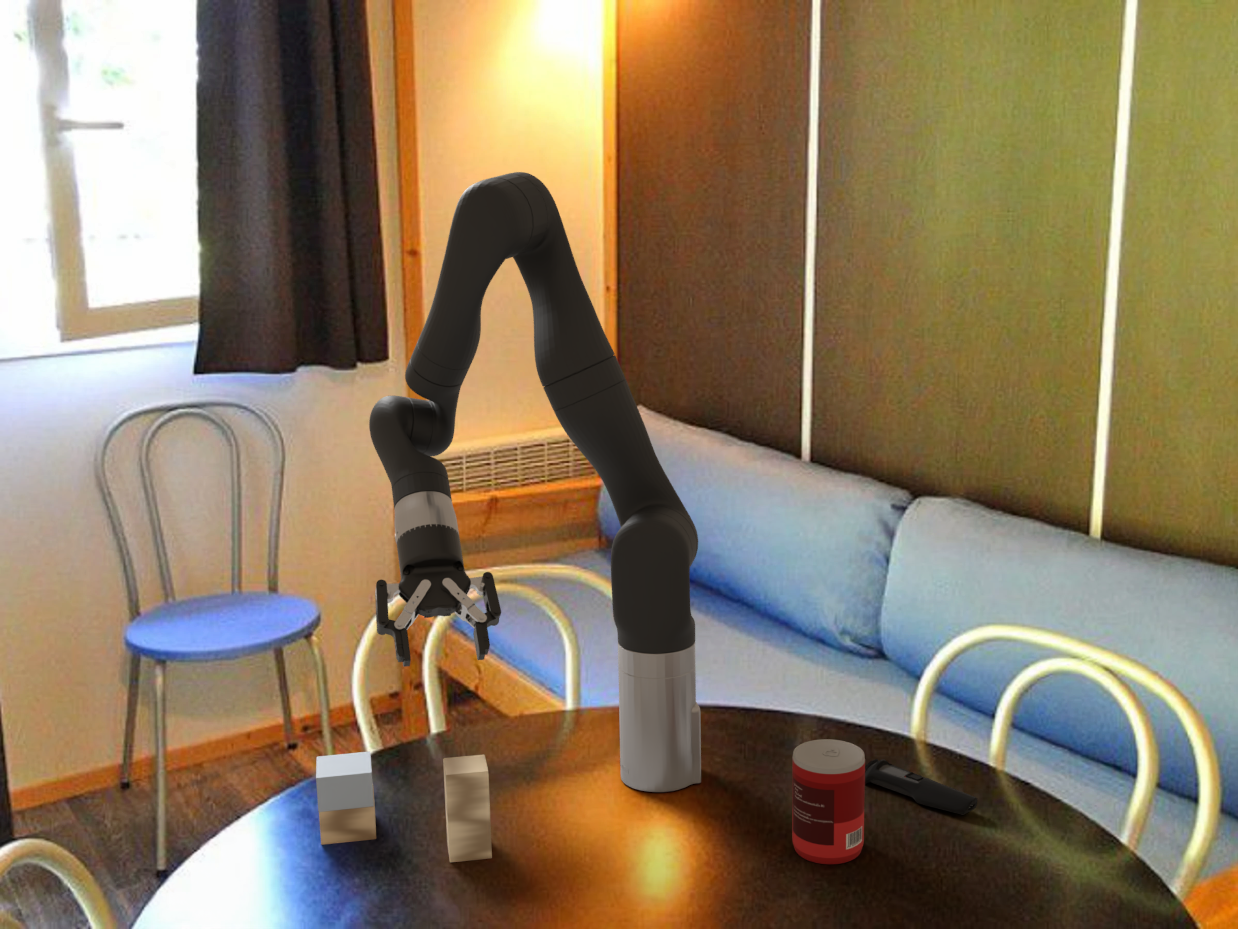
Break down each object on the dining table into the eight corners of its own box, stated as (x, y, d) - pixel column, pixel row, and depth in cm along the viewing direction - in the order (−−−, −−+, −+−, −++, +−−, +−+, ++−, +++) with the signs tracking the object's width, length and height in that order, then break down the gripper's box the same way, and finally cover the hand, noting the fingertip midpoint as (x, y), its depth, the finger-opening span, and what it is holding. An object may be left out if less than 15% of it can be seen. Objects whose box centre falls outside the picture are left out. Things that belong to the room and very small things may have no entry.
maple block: (488, 839, 157) (484, 754, 155) (491, 858, 153) (488, 771, 151) (447, 843, 156) (443, 758, 154) (449, 862, 152) (445, 775, 150)
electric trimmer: (963, 828, 158) (965, 802, 158) (855, 783, 170) (856, 759, 169) (983, 818, 161) (985, 792, 160) (876, 775, 172) (876, 750, 171)
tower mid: (372, 784, 163) (370, 751, 162) (373, 806, 157) (371, 772, 156) (318, 789, 162) (316, 756, 161) (318, 812, 156) (316, 778, 155)
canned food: (861, 832, 157) (862, 739, 155) (866, 867, 149) (867, 769, 147) (791, 830, 158) (791, 737, 155) (792, 865, 150) (793, 767, 148)
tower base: (375, 817, 164) (373, 784, 163) (376, 840, 158) (374, 806, 157) (322, 822, 162) (319, 789, 162) (321, 846, 157) (318, 812, 156)
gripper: (369, 526, 165) (383, 651, 157) (490, 518, 169) (510, 640, 161) (366, 558, 172) (380, 680, 163) (482, 549, 175) (502, 669, 167)
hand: (444, 660), depth 162 cm, fingers open, 8 cm apart
